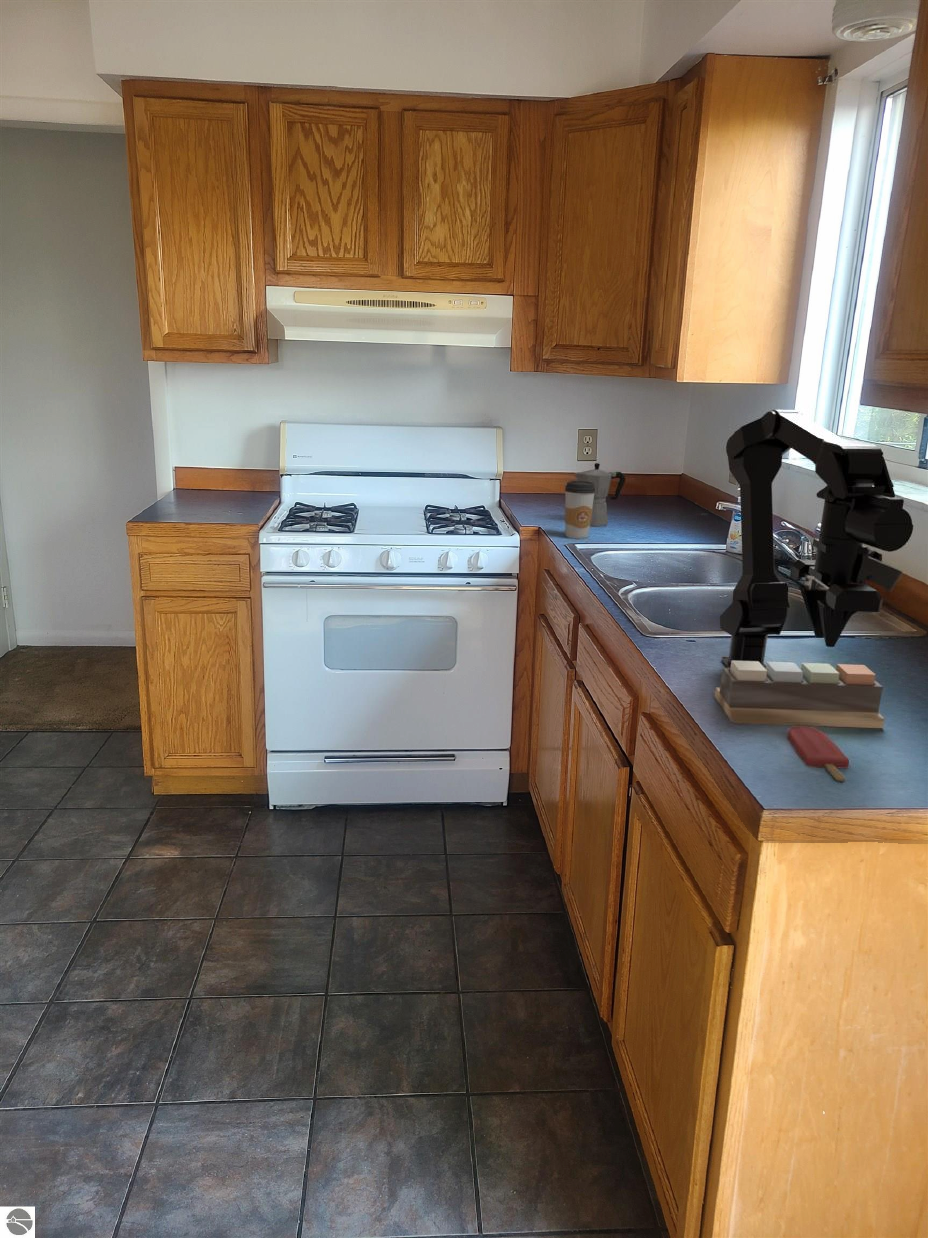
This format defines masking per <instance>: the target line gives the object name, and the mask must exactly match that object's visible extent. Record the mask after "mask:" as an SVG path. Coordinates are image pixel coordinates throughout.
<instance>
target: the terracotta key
mask: <svg viewBox="0 0 928 1238" xmlns="http://www.w3.org/2000/svg"><path fill="white" fill-rule="evenodd" d="M835 670H836V671H837V672H839V679H840V680H841V681H842V682H843V683H844V684H857V685H874V681H876V675H877V674H876V673H874V672H873V671H872V670H871V669H870V668H868V666H866V665H865V664H846V663H837V664H836V668H835Z"/></svg>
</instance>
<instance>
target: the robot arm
mask: <svg viewBox="0 0 928 1238" xmlns="http://www.w3.org/2000/svg"><path fill="white" fill-rule="evenodd" d="M791 449H792V450H794V451H795V452H797V453H799V454H800V455H801V456H803V457H805V458H806V459H807V460H809V461H811V462H812V463H813V464H814V465H815V469H814V472H815V474H816V475H817V476H818V477H819V478H820V479H821V480H822V481H823V482H824V484H825V485H826V486H825V487H824V488H822V489H820V490H819V491H817V493H815V495H816V498H818V499H822V500H824V502H823V509H822V516H821V523H820V529H819V534H818V535H819V536H818V538H813V540H812V546H813V547H815V548H816V554H815V555H816V556H815V559H800V558H799V559H797V560H795V562H793V564H791V567H790V575H789V577H790V578H791V579H793V580H794V581H795V582H800V581H801V579H803V578H805V579H804V584H800V585H798V589H799V591H800V593H801V596H802V599H803V602H804V605H805V607H806V611H807V614H808V617H809V620H810V624H811V627H812V630H813V634H814V636H815V638H816V639H817V638H818V639H822V638H824V639H823V640H824V643H825V647H827V648H833V647H835V646H836V645H837V643H838V641H839V639H840V637H841V635H842V633H843V631H844V630H845V627H846V625H847V624H848V623H849V621H850V619H851V617H852V616H853V615H855V614H856V613H858V612H860V613H861V612H862V613H880V612H881V611H882V605H883V601H884V597H883V596H882V595H881V594H880V592H879V591H878V590H876V589H875V588H873V587H871V586H869V585H868V584H867V581H868V582H871V583H873V584H875V585H877V586H879V587H882V588H883V589H884V590H886V591H888V592H892V591H893V590H894V587H895V586H896V584H897V582H898V580H899V578H900V577H901V575H902V574H903V571H902V570H900V569H898V568H896V567H895V566H893V565H891V564H890V563H889V564H888V563H887V562H884V561H883V554H882V553H880V552H878V551H876V550H875V549H879V550H880V551H884V552H888V553H889V552H896V551H898V550H900V549H902V548H903V547H904V546H905V545H906V544H907V543H908V542H909V540H910V538H911V537H912V534H913V531H914V524H913V521H912V517H911V514H910V513H909V512H908V511H907V510H906V509H904V508H903V507H904V503H905V501H904V498H900V497H896V493H895V490H894V487H895V485H894V483H893V481H892V479H891V475H890V473H889V470H888V469H889V468H888V466H887V463H886V459H885V458H884V452H883V451H882V448H881V447H879V446H878V445H876V444H872V443H869V442H865V441H860V440H859V441H858V440H854V439H853V440H852V439H846V438H843V437H840V436H838V435H836V434H834V432H833V433H832V431H829V430H828V429H826V428H825V427H823V426H820V425H819V424H818V423H816V422H814V421H813V420H810V419H808V418H807V417H806V416H804V415H803V414H802V412H800V411H798V410H796V409H772V410H769V411H767V412H765V414H763V415H762V416H761V417H760V418H758V419H755V420H753V421H751V422H749V423H747V424H744V425H742V426H740V428H738V429H737V430H736V431H734V432H733V433H732V435H731V436H730V437H729V438H728V439H727V442H726V445H725V452H726V456H727V461H728V469H729V472H730V473H731V475H732V476H733V478H734V479H735V480H736V482H737V484H738V486H739V495H740V526H741V527H740V530H741V557H742V558H741V560H742V561H741V562H742V567H741V568H742V574H741V576H740V578H739V580H738V581H737V584H736V585H735V587H734V588H733V591H732V602H731V604H730V605H729V606H728V607H727V608H726V609H725V610H724V611H723V613H721V615H720V616H719V624H720V627H719V628H720V629H721V630H722V631H723V632H725V633H727V634H729V635H730V645H729V652H728V656H722V657H721V661H722V662H723V663H724V665H725V666H726V668H731V660H734V661H759V662H760V664H761V665H762V666H763V667H764V668H765V669H766V664H765V658H766V650H767V644H768V636H769V635H774V636H775V635H776V636H779V635H781V632H782V630H783V628H784V625H785V623H786V621H787V617H788V615H789V609H790V603H789V585H788V583H787V582H782V581H781V580H780V579H779V577H778V576H777V574H776V572H775V547H774V546H775V544H774V542H775V541H774V539H775V538H774V515H773V512H774V510H773V509H774V508H773V482H774V480H775V479H776V477H777V475H778V473H779V472H780V469H781V468H782V465H783V455H785V454H786V453H787V452H788V451H790V450H791ZM868 546H869V548H868ZM870 547H872V548H875V549H871V548H870Z"/></svg>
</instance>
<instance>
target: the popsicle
mask: <svg viewBox="0 0 928 1238" xmlns="http://www.w3.org/2000/svg"><path fill="white" fill-rule="evenodd" d="M787 740H788V742H789V743H790V745H791V746H792V747H793V749H794V751H795V752H796V753H797V754H798V756H799V758H801V760H802V761H803V762H804V764H805V766H807V767H808V768H811V767H812V768H826V770H827V771H828V772H829V774H831V776H832V777H833V778H834V780H836V781H837V782H838V781H839V782H844V781H845V780H846V777H845V776H844V775H843V774H842V773H841V772H840V770H839V769H849V767H850V766H849V765H850V760H849V758H848V757H847V756H846V755H845V753H844V752H843V751H842V750H841V749H840V748H839V747H838V745H837V744H836V743H834V742H833V740H832V739H831V738H830V737H829V736H828V735H827V734H826V733H825V732H823V731H821V730H820V729H817V728H815V727H813V726H804V725H793V726H791V727H790V728H789V729H788V731H787ZM838 768H839V769H838Z"/></svg>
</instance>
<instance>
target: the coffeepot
mask: <svg viewBox="0 0 928 1238" xmlns="http://www.w3.org/2000/svg"><path fill="white" fill-rule="evenodd" d="M600 466H601V464H600V463H599V462H595V463H594V469H590V470H584V471H579V472H576V473H574V474H573V476H574V477H575V478H576V479H577V481H588V482H592V483H594V487H595V493H594V499H593V506H592V508H593V509H592V516H591V523H590V527H591V528H592V527H594V528H601V527H605V526H607V525H608V523H609V520H608V519H609V518H608V507H607V502H606V500H607V497H608V495H609V494H608V493H609V491H610V490H609V489H610V485H611V480H613V479H619V481H618V483H617V487H616V489H615V492H614V495H613V496H610V500H613V501H614V500H618V499H619V497H620V494H621V492H622V490H623V487H624V484H625V482H626V476H625V475H624V474H623V472H621V471H604V470H602V469H600Z"/></svg>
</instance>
